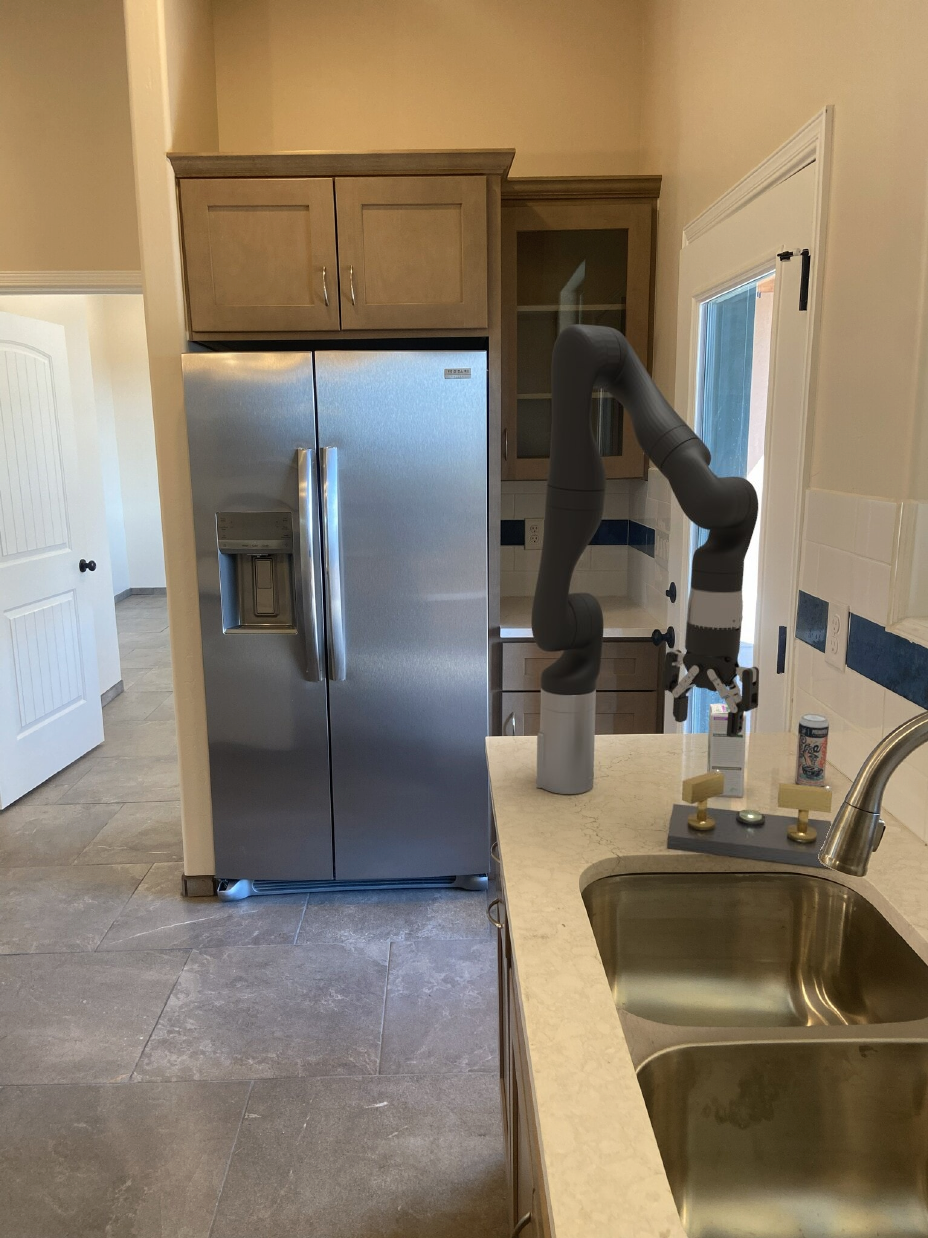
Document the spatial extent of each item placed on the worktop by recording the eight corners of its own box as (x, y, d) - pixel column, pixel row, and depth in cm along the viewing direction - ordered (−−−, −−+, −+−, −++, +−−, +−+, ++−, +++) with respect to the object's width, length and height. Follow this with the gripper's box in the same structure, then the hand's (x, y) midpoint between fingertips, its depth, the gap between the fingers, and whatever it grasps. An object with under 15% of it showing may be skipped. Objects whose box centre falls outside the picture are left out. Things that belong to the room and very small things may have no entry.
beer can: (796, 788, 152) (801, 720, 150) (792, 778, 157) (797, 712, 154) (826, 790, 151) (831, 722, 149) (822, 780, 155) (827, 714, 153)
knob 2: (776, 839, 128) (780, 786, 126) (775, 827, 132) (779, 776, 130) (828, 845, 126) (833, 791, 124) (826, 833, 130) (830, 781, 128)
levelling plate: (667, 848, 130) (668, 829, 129) (673, 815, 141) (673, 797, 141) (837, 869, 123) (839, 849, 123) (829, 833, 135) (831, 814, 134)
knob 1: (695, 835, 129) (698, 783, 128) (674, 825, 133) (677, 774, 131) (727, 823, 133) (730, 772, 132) (706, 814, 136) (709, 764, 135)
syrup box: (743, 798, 148) (748, 714, 145) (706, 795, 149) (711, 712, 146) (740, 785, 153) (745, 704, 151) (704, 783, 155) (709, 702, 152)
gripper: (656, 615, 129) (650, 722, 133) (746, 632, 119) (737, 747, 123) (685, 608, 134) (678, 711, 138) (774, 624, 124) (764, 735, 128)
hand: (706, 728), depth 130 cm, fingers open, 8 cm apart
